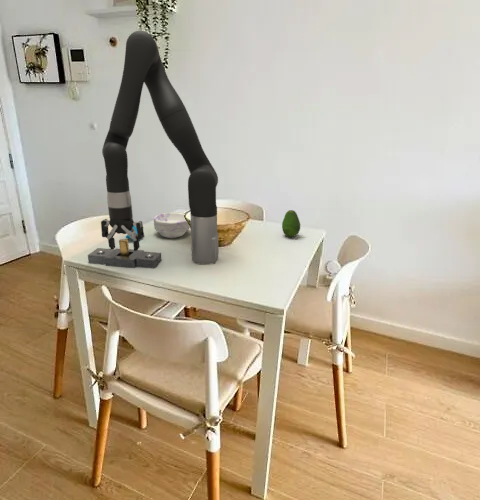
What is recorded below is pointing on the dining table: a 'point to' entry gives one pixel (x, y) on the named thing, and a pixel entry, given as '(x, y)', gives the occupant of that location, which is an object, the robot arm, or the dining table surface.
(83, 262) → the dining table surface
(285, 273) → the dining table surface
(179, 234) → the paper bowls
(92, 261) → the grey block with hole
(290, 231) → the avocado
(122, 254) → the pin
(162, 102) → the robot arm
